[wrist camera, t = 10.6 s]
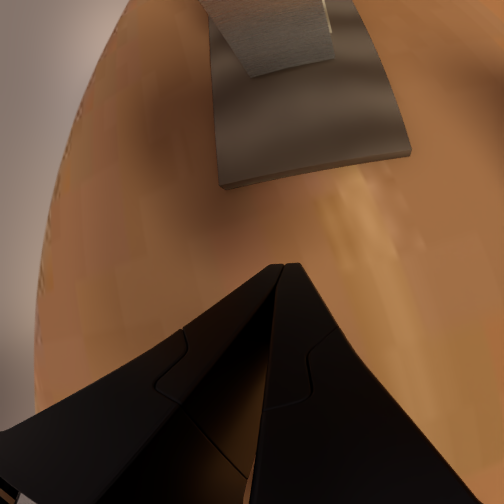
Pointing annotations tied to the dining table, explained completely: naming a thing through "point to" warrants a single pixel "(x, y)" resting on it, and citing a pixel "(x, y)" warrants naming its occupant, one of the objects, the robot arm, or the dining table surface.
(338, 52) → the launcher
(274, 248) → the dining table surface
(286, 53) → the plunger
